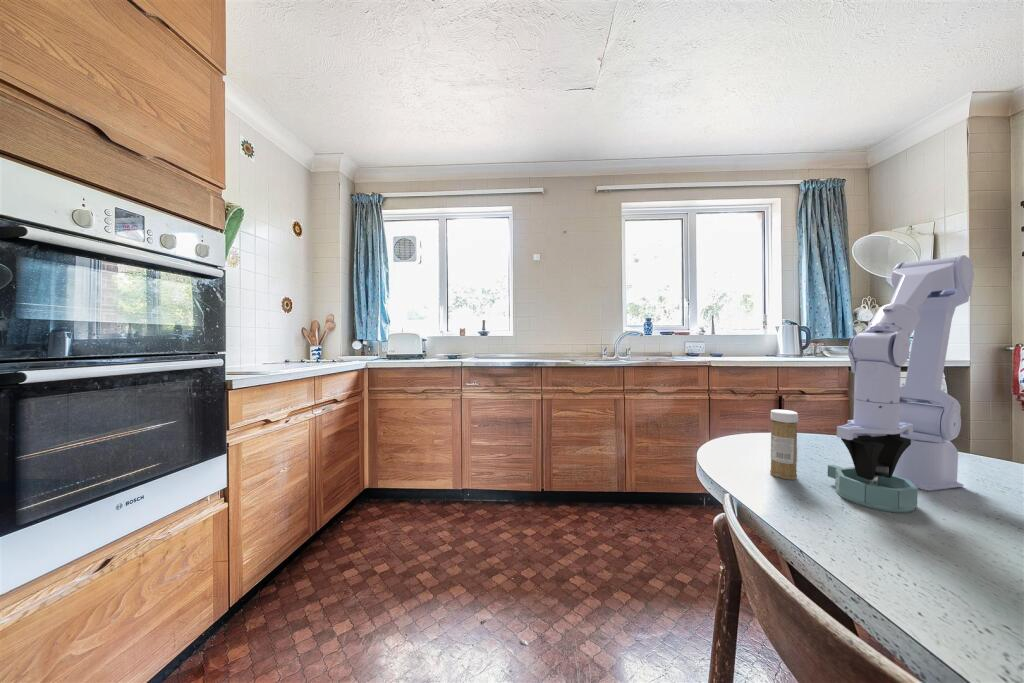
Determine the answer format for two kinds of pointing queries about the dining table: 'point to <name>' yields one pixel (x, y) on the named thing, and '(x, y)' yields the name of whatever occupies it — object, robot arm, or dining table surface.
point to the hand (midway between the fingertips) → (874, 476)
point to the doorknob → (879, 473)
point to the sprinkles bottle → (783, 443)
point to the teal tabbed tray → (875, 490)
